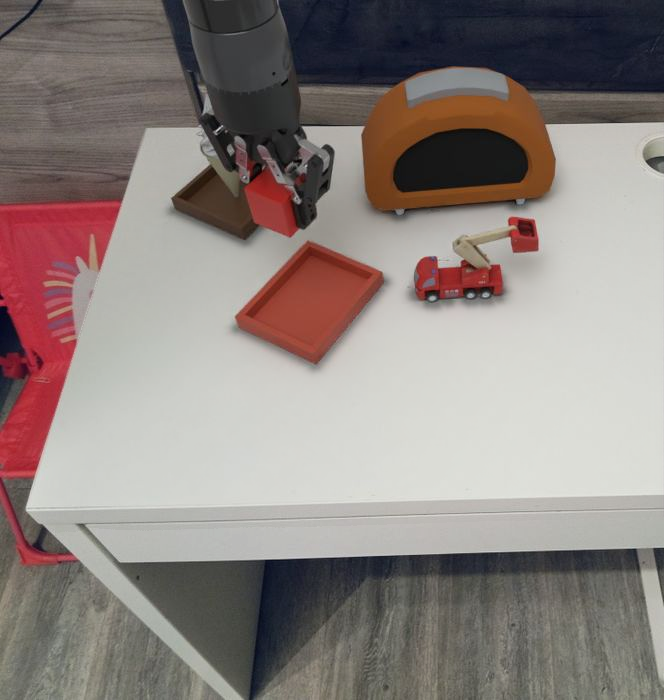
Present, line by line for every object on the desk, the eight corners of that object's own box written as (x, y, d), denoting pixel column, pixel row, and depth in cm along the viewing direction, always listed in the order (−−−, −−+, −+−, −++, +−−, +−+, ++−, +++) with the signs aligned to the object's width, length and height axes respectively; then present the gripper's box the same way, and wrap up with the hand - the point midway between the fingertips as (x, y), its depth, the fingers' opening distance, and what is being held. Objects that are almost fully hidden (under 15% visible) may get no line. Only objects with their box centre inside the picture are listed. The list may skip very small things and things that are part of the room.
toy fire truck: (414, 281, 90) (409, 221, 83) (530, 275, 91) (536, 214, 83) (415, 303, 88) (411, 243, 81) (533, 296, 89) (540, 236, 81)
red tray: (315, 364, 83) (313, 353, 82) (238, 327, 86) (234, 316, 85) (383, 282, 90) (382, 271, 89) (310, 251, 93) (307, 239, 92)
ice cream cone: (263, 187, 100) (235, 85, 88) (246, 212, 97) (215, 111, 85) (227, 180, 101) (195, 78, 89) (209, 205, 98) (174, 103, 86)
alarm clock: (369, 221, 97) (354, 108, 83) (365, 174, 102) (350, 60, 89) (552, 205, 98) (566, 92, 85) (539, 160, 104) (551, 46, 90)
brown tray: (244, 240, 95) (241, 228, 93) (175, 209, 98) (170, 198, 96) (299, 186, 100) (296, 175, 99) (231, 159, 104) (228, 148, 102)
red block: (290, 238, 75) (281, 203, 72) (254, 223, 77) (243, 188, 73) (317, 210, 78) (310, 176, 74) (281, 196, 79) (272, 161, 76)
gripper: (149, 60, 64) (205, 214, 77) (289, 111, 59) (322, 264, 73) (209, 17, 67) (252, 171, 81) (344, 62, 63) (366, 216, 77)
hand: (285, 214), depth 77 cm, fingers closed on red block, 4 cm apart
